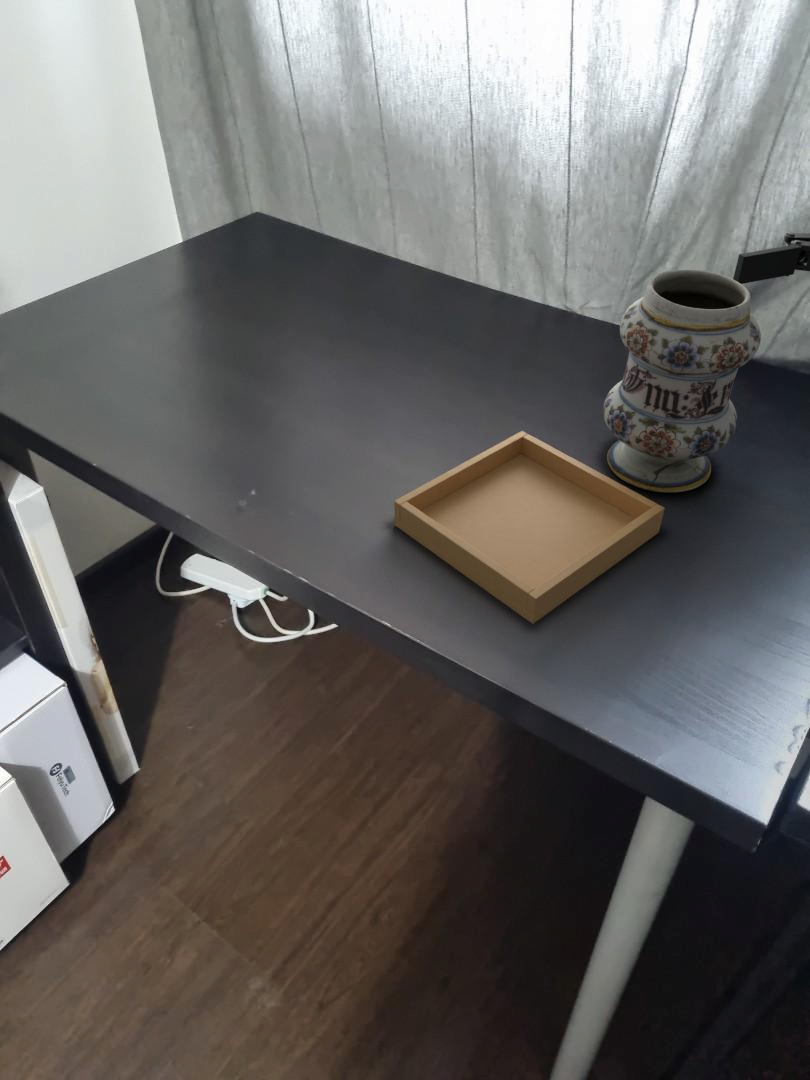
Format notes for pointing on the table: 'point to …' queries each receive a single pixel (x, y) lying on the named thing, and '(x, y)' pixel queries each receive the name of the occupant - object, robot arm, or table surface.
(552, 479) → the tray
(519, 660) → the table surface
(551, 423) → the table surface
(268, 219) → the table surface
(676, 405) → the apothecary jar
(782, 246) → the robot arm
